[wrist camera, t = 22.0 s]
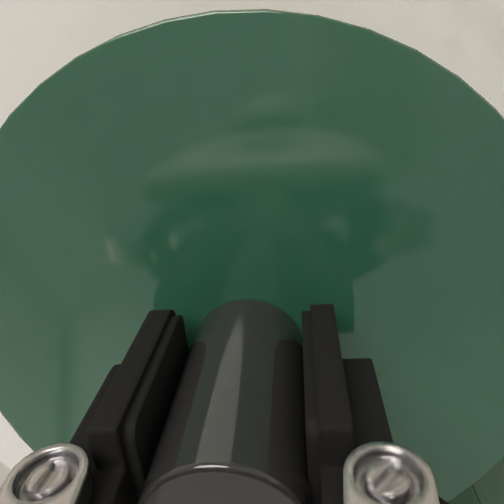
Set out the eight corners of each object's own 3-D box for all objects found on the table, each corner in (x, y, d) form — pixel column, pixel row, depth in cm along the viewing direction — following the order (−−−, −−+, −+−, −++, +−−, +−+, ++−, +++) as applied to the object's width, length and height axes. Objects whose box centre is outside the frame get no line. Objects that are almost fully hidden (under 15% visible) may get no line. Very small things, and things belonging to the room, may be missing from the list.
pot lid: (-107, 47, 11) (-539, 48, 5) (607, -26, 9) (1102, -141, 4) (57, 514, 17) (-62, 751, 11) (508, 519, 15) (637, 798, 10)
